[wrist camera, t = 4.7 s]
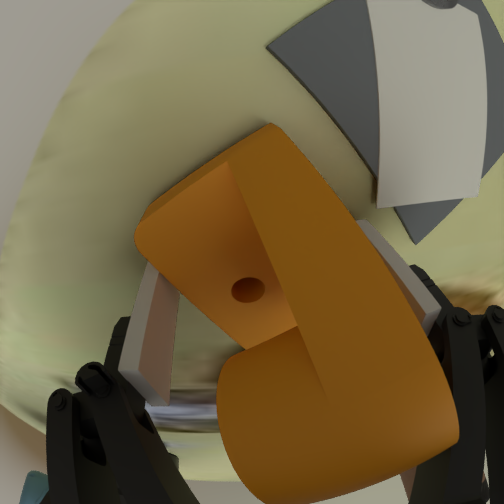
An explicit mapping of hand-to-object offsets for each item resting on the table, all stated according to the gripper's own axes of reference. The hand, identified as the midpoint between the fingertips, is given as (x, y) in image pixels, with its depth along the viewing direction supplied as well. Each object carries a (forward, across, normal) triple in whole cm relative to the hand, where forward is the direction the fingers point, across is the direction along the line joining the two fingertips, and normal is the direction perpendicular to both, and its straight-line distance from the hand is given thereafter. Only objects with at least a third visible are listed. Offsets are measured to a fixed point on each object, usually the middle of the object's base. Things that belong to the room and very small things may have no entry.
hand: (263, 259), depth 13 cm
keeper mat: (+1, -12, -9) cm, 15 cm away
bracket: (+1, 0, 0) cm, 1 cm away
